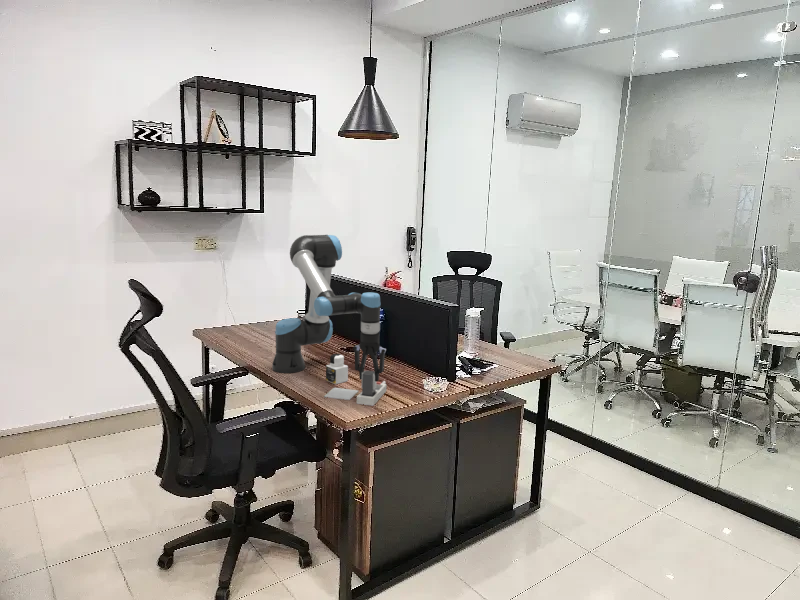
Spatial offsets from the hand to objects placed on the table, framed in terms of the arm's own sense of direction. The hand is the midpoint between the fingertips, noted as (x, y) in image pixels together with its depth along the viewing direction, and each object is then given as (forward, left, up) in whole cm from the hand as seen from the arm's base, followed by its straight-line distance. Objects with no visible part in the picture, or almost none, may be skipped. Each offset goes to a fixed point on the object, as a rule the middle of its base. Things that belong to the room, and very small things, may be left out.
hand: (368, 387), depth 225 cm
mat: (-3, -13, -5) cm, 14 cm away
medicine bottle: (-18, -21, -6) cm, 28 cm away
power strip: (-8, 0, -5) cm, 10 cm away
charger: (0, 0, -4) cm, 4 cm away
